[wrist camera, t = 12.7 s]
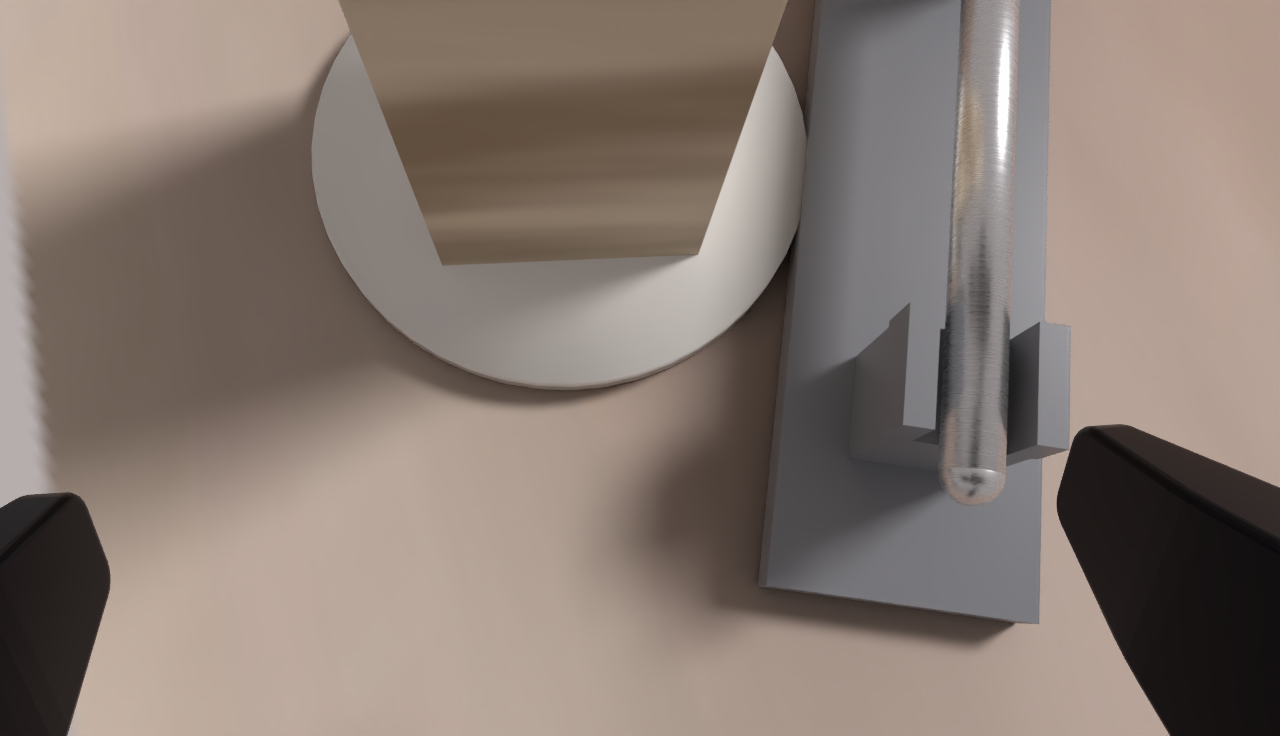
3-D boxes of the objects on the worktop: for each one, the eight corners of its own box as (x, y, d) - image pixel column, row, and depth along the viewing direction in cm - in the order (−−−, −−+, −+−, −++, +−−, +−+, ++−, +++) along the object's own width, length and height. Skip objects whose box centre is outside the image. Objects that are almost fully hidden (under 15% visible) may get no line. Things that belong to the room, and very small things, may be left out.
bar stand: (1018, 622, 17) (1147, 628, 13) (758, 586, 17) (811, 580, 13) (1037, -147, 22) (1136, -309, 18) (832, -181, 22) (889, -352, 18)
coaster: (885, 272, 19) (894, 262, 18) (430, 474, 17) (425, 469, 16) (675, -103, 21) (678, -124, 20) (250, 43, 19) (239, 26, 18)
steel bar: (987, 513, 15) (1016, 506, 14) (926, 504, 15) (951, 497, 14) (1012, -221, 18) (1036, -268, 17) (964, -230, 18) (986, -276, 17)
